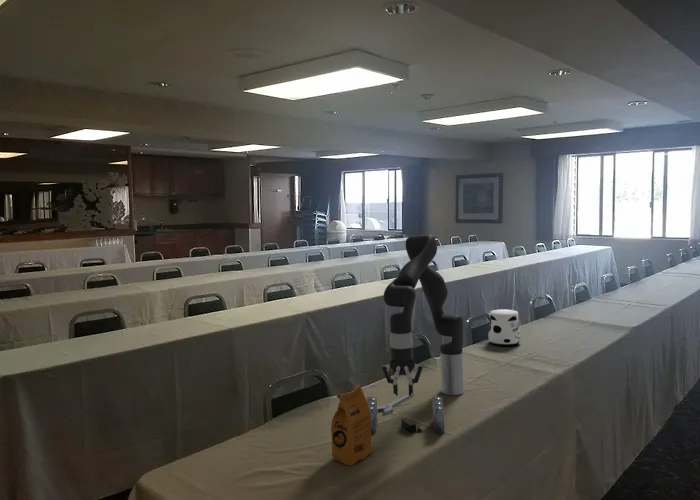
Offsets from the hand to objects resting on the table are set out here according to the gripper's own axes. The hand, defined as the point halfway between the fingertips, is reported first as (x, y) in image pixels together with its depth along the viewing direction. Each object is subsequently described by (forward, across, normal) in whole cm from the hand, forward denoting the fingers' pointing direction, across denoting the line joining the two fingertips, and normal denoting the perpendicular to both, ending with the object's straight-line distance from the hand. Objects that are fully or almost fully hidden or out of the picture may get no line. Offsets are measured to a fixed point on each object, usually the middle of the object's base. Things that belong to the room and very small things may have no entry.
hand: (403, 394), depth 176 cm
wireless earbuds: (+17, -2, -9) cm, 19 cm away
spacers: (+16, 0, -11) cm, 20 cm away
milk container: (+16, -56, -123) cm, 136 cm away
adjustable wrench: (+17, +3, -33) cm, 37 cm away
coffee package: (+17, +17, +11) cm, 26 cm away
